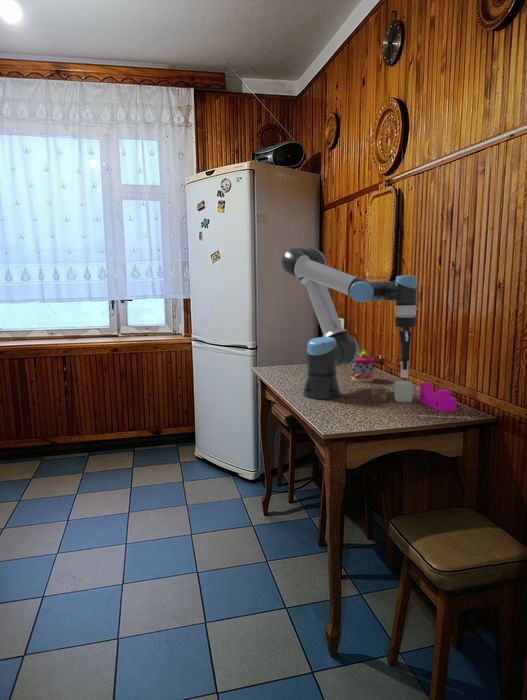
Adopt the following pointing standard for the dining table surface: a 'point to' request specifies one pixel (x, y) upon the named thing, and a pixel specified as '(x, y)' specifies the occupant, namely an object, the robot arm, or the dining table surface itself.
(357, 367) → the cake
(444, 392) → the toy block
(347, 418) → the dining table surface
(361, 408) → the dining table surface
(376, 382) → the dining table surface
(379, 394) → the walnut block
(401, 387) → the sage block
